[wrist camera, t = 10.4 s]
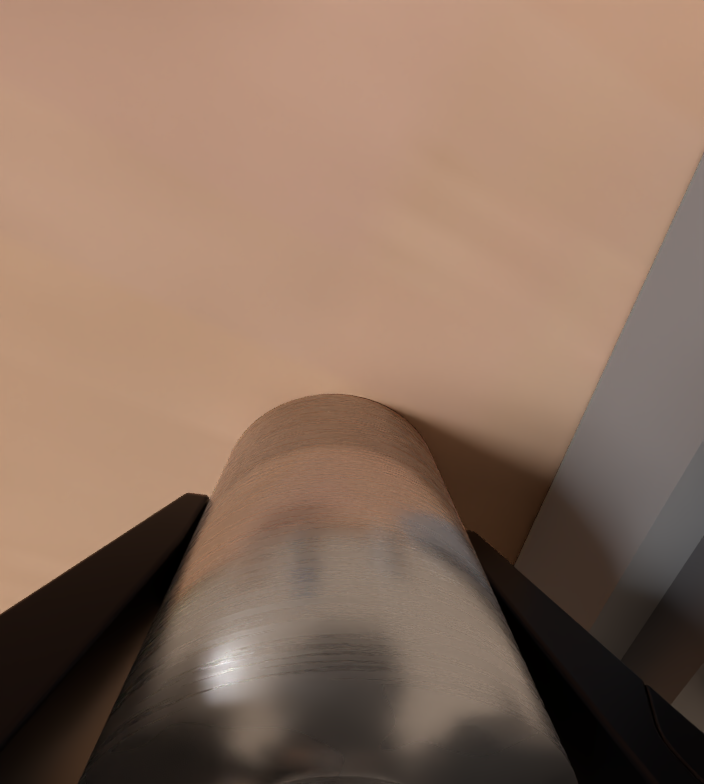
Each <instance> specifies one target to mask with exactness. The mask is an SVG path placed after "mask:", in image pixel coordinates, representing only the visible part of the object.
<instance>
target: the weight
mask: <svg viewBox="0 0 704 784" xmlns="http://www.w3.org/2000/svg"><path fill="white" fill-rule="evenodd" d="M78 784H578V781H577V779H576V776H575V773H574V770H573V768H572V766H571V764H570V761H569V759H568V757H567V755H566V752H565V750H564V748H563V746H562V744H561V741H560V739H559V737H558V735H557V732H556V730H555V728H554V726H553V724H552V721H551V719H550V717H549V715H548V712H547V710H546V708H545V706H544V704H543V701H542V699H541V697H540V695H539V692H538V690H537V688H536V686H535V684H534V681H533V679H532V677H531V675H530V672H529V670H528V668H527V666H526V664H525V661H524V659H523V657H522V655H521V652H520V650H519V648H518V646H517V644H516V641H515V639H514V637H513V635H512V632H511V630H510V628H509V626H508V624H507V621H506V619H505V617H504V615H503V612H502V610H501V608H500V606H499V604H498V601H497V599H496V597H495V595H494V592H493V590H492V588H491V586H490V584H489V581H488V579H487V577H486V575H485V572H484V570H483V568H482V566H481V564H480V561H479V559H478V557H477V555H476V552H475V550H474V548H473V546H472V544H471V541H470V539H469V537H468V535H467V532H466V530H465V528H464V526H463V524H462V521H461V519H460V517H459V515H458V512H457V510H456V508H455V506H454V504H453V501H452V499H451V497H450V495H449V492H448V490H447V488H446V486H445V483H444V481H443V479H442V477H441V475H440V472H439V470H438V468H437V466H436V463H435V461H434V459H433V457H432V455H431V452H430V450H429V448H428V446H427V445H426V443H425V441H424V439H423V438H422V437H421V435H420V434H419V433H418V431H417V430H416V429H415V428H414V427H413V426H412V425H411V424H410V423H409V422H408V421H407V420H406V419H405V418H403V417H402V416H400V415H399V414H398V413H396V412H395V411H393V410H391V409H389V408H387V407H385V406H384V405H382V404H379V403H376V402H374V401H371V400H368V399H365V398H360V397H356V396H351V395H341V394H321V395H314V396H307V397H303V398H299V399H295V400H292V401H290V402H287V403H285V404H282V405H280V406H278V407H276V408H274V409H272V410H270V411H269V412H267V413H265V414H264V415H263V416H261V417H260V418H259V419H257V420H256V421H255V422H254V423H253V424H252V425H251V426H250V427H249V428H248V429H247V430H246V431H245V432H244V433H243V435H242V436H241V437H240V439H239V440H238V441H237V443H236V445H235V447H234V449H233V450H232V452H231V454H230V457H229V459H228V461H227V463H226V465H225V467H224V470H223V472H222V474H221V476H220V478H219V480H218V482H217V485H216V487H215V489H214V491H213V493H212V495H211V498H210V500H209V502H208V504H207V506H206V508H205V510H204V513H203V515H202V517H201V519H200V521H199V523H198V525H197V528H196V530H195V532H194V534H193V536H192V538H191V541H190V543H189V545H188V547H187V549H186V551H185V553H184V556H183V558H182V560H181V562H180V564H179V566H178V569H177V571H176V573H175V575H174V577H173V579H172V581H171V584H170V586H169V588H168V590H167V592H166V594H165V597H164V599H163V601H162V603H161V605H160V607H159V609H158V612H157V614H156V616H155V618H154V620H153V622H152V625H151V627H150V629H149V631H148V633H147V635H146V637H145V640H144V642H143V644H142V646H141V648H140V650H139V652H138V655H137V657H136V659H135V661H134V663H133V665H132V668H131V670H130V672H129V674H128V676H127V678H126V680H125V683H124V685H123V687H122V689H121V691H120V693H119V696H118V698H117V700H116V702H115V704H114V706H113V708H112V711H111V713H110V715H109V717H108V719H107V721H106V724H105V726H104V728H103V730H102V732H101V734H100V736H99V739H98V741H97V743H96V745H95V747H94V749H93V752H92V754H91V756H90V758H89V760H88V762H87V764H86V767H85V769H84V771H83V773H82V775H81V777H80V779H79V782H78Z"/></svg>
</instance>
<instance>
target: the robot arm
mask: <svg viewBox="0 0 704 784" xmlns="http://www.w3.org/2000/svg"><path fill="white" fill-rule="evenodd" d="M208 502H209V497H208V496H207V495H202V494H195V493H186V494H184V495H183V496H181V497H179V498H178V499H176V500H175V501H173V502H172V503H170V504H169V505H167V506H166V507H164V508H163V509H161V510H160V511H158V512H156V513H155V514H153V515H152V516H150V517H149V518H147V519H146V520H144V521H143V522H141V523H140V524H138V525H136V526H135V527H133V528H132V529H130V530H129V531H127V532H126V533H124V534H123V535H121V536H120V537H118V538H117V539H115V540H113V541H112V542H110V543H109V544H107V545H106V546H104V547H103V548H101V549H100V550H98V551H97V552H95V553H94V554H92V555H90V556H89V557H87V558H86V559H84V560H83V561H81V562H80V563H78V564H77V565H75V566H74V567H72V568H71V569H69V570H67V571H66V572H64V573H63V574H61V575H60V576H58V577H57V578H55V579H54V580H52V581H51V582H49V583H47V584H46V585H44V586H43V587H41V588H40V589H38V590H37V591H35V592H34V593H32V594H31V595H29V596H28V597H26V598H24V599H23V600H21V601H20V602H18V603H17V604H15V605H14V606H12V607H11V608H9V609H8V610H6V611H5V612H3V613H1V614H0V784H78V782H79V779H80V777H81V775H82V773H83V771H84V769H85V767H86V764H87V762H88V760H89V758H90V756H91V754H92V752H93V749H94V747H95V745H96V743H97V741H98V739H99V736H100V734H101V732H102V730H103V728H104V726H105V724H106V721H107V719H108V717H109V715H110V713H111V711H112V708H113V706H114V704H115V702H116V700H117V698H118V696H119V693H120V691H121V689H122V687H123V685H124V683H125V680H126V678H127V676H128V674H129V672H130V670H131V668H132V665H133V663H134V661H135V659H136V657H137V655H138V652H139V650H140V648H141V646H142V644H143V642H144V640H145V637H146V635H147V633H148V631H149V629H150V627H151V625H152V622H153V620H154V618H155V616H156V614H157V612H158V609H159V607H160V605H161V603H162V601H163V599H164V597H165V594H166V592H167V590H168V588H169V586H170V584H171V581H172V579H173V577H174V575H175V573H176V571H177V569H178V566H179V564H180V562H181V560H182V558H183V556H184V553H185V551H186V549H187V547H188V545H189V543H190V541H191V538H192V536H193V534H194V532H195V530H196V528H197V525H198V523H199V521H200V519H201V517H202V515H203V513H204V510H205V508H206V506H207V504H208ZM466 532H467V535H468V537H469V539H470V541H471V544H472V546H473V548H474V550H475V552H476V555H477V557H478V559H479V561H480V564H481V566H482V568H483V570H484V572H485V575H486V577H487V579H488V581H489V584H490V586H491V588H492V590H493V592H494V595H495V597H496V599H497V601H498V604H499V606H500V608H501V610H502V612H503V615H504V617H505V619H506V621H507V624H508V626H509V628H510V630H511V632H512V635H513V637H514V639H515V641H516V644H517V646H518V648H519V650H520V652H521V655H522V657H523V659H524V661H525V664H526V666H527V668H528V670H529V672H530V675H531V677H532V679H533V681H534V684H535V686H536V688H537V690H538V692H539V695H540V697H541V699H542V701H543V704H544V706H545V708H546V710H547V712H548V715H549V717H550V719H551V721H552V724H553V726H554V728H555V730H556V732H557V735H558V737H559V739H560V741H561V744H562V746H563V748H564V750H565V752H566V755H567V757H568V759H569V761H570V764H571V766H572V768H573V770H574V773H575V776H576V779H577V781H578V784H704V733H703V732H702V731H700V730H699V729H698V728H697V727H696V726H695V725H694V724H692V723H691V722H690V721H689V720H688V719H687V718H685V717H684V716H683V715H682V714H681V713H680V712H678V711H677V710H676V709H675V708H674V707H673V706H672V705H670V704H669V703H668V702H667V701H666V700H665V699H664V698H663V697H661V696H660V695H659V694H658V693H657V692H656V691H655V690H654V689H652V688H651V687H650V686H649V685H644V682H643V680H642V679H641V678H640V677H639V676H637V675H636V674H635V673H634V672H633V671H632V670H631V669H630V668H628V667H627V666H626V665H625V664H624V663H623V662H622V661H621V660H619V659H618V658H617V657H616V656H615V655H614V654H613V653H611V652H610V651H609V650H608V649H607V648H606V647H605V646H604V645H602V644H601V643H600V642H599V641H598V640H597V639H596V638H594V637H593V636H592V635H591V634H590V633H589V632H588V631H587V630H585V629H584V628H583V627H582V626H581V625H580V624H579V623H577V622H576V621H575V620H574V619H573V618H572V617H571V616H570V615H568V614H567V613H566V612H565V611H564V610H563V609H562V608H560V607H559V606H558V605H557V604H556V603H555V602H554V601H553V600H551V599H550V598H549V597H548V596H547V595H546V594H545V593H544V592H542V591H541V590H540V589H539V588H538V587H537V586H536V585H534V584H533V583H532V582H531V581H530V580H529V579H528V578H527V577H525V576H524V575H523V574H522V573H521V572H520V571H519V570H517V569H516V568H515V567H514V566H513V565H512V564H511V563H510V562H508V561H507V560H506V559H505V558H504V557H503V556H502V555H500V554H499V553H498V552H497V551H496V550H495V549H494V548H493V547H491V546H490V545H489V544H488V543H487V542H486V541H485V540H483V539H482V538H481V537H480V536H479V535H478V534H477V533H475V532H474V531H470V530H466Z"/></svg>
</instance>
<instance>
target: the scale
mask: <svg viewBox="0 0 704 784" xmlns="http://www.w3.org/2000/svg"><path fill="white" fill-rule="evenodd" d="M514 567H515V568H516V569H517V570H519V571H520V572H521V573H522V574H523V575H524V576H525V577H527V578H528V579H529V580H530V581H531V582H532V583H533V584H534V585H536V586H537V587H538V588H539V589H540V590H541V591H542V592H544V593H545V594H546V595H547V596H548V597H549V598H550V599H551V600H553V601H554V602H555V603H556V604H557V605H558V606H559V607H560V608H562V609H563V610H564V611H565V612H566V613H567V614H568V615H570V616H571V617H572V618H573V619H574V620H575V621H576V622H577V623H579V624H580V625H581V626H582V627H583V628H584V629H585V630H587V631H588V632H589V633H590V634H591V635H592V636H593V637H594V638H596V639H597V640H598V641H599V642H600V643H601V644H602V645H604V646H605V647H606V648H607V649H608V650H609V651H610V652H611V653H613V654H614V655H615V656H616V657H617V658H618V659H619V660H621V661H622V662H623V663H624V664H625V665H626V666H627V667H628V668H630V669H631V670H632V671H633V672H634V673H635V674H636V675H637V676H639V677H640V678H641V679H642V680H643V682H644V685H649V686H650V687H651V688H652V689H654V690H655V691H656V692H657V693H658V694H659V695H660V696H661V697H663V698H664V699H665V700H666V701H667V702H668V703H669V704H670V705H672V706H673V707H674V708H675V709H676V710H677V711H678V712H680V713H681V714H682V715H683V716H684V717H685V718H687V719H688V720H689V721H690V722H691V723H692V724H694V725H695V726H696V727H697V728H698V729H699V730H700V731H702V732H703V733H704V154H703V156H702V158H701V160H700V162H699V165H698V167H697V169H696V171H695V173H694V175H693V178H692V180H691V182H690V184H689V186H688V188H687V191H686V193H685V195H684V197H683V199H682V202H681V204H680V206H679V208H678V210H677V212H676V215H675V217H674V219H673V221H672V223H671V225H670V228H669V230H668V232H667V234H666V236H665V239H664V241H663V243H662V245H661V247H660V249H659V252H658V254H657V256H656V258H655V260H654V262H653V265H652V267H651V269H650V271H649V273H648V276H647V278H646V280H645V282H644V284H643V286H642V289H641V291H640V293H639V295H638V297H637V299H636V302H635V304H634V306H633V308H632V310H631V313H630V315H629V317H628V319H627V321H626V323H625V326H624V328H623V330H622V332H621V334H620V336H619V339H618V341H617V343H616V345H615V347H614V350H613V352H612V354H611V356H610V358H609V360H608V363H607V365H606V367H605V369H604V371H603V373H602V376H601V378H600V380H599V382H598V384H597V387H596V389H595V391H594V393H593V395H592V397H591V400H590V402H589V404H588V406H587V408H586V410H585V413H584V415H583V417H582V419H581V421H580V423H579V426H578V428H577V430H576V432H575V434H574V437H573V439H572V441H571V443H570V445H569V447H568V450H567V452H566V454H565V456H564V458H563V460H562V463H561V465H560V467H559V469H558V471H557V474H556V476H555V478H554V480H553V482H552V484H551V487H550V489H549V491H548V493H547V495H546V497H545V500H544V502H543V504H542V506H541V508H540V511H539V513H538V515H537V517H536V519H535V521H534V524H533V526H532V528H531V530H530V532H529V534H528V537H527V539H526V541H525V543H524V545H523V548H522V550H521V552H520V554H519V556H518V558H517V561H516V563H515V565H514Z"/></svg>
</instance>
